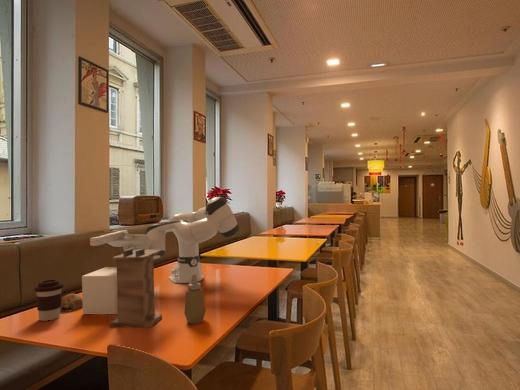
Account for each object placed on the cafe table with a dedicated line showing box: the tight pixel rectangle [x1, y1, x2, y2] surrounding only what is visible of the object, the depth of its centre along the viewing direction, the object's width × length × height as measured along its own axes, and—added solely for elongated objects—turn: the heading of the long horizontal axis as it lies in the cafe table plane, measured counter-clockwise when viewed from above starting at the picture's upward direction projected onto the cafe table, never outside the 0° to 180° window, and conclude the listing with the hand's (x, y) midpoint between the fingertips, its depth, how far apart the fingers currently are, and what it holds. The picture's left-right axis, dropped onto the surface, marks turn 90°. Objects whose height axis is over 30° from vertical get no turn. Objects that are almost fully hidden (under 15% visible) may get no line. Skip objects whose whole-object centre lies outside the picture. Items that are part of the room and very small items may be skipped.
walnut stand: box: [109, 249, 163, 328], centre depth 136 cm, size 18×16×28 cm
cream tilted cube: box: [81, 266, 118, 315], centre depth 152 cm, size 18×14×16 cm
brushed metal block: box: [89, 229, 129, 247], centre depth 153 cm, size 26×3×3 cm, turn 174°
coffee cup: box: [33, 279, 64, 322], centre depth 140 cm, size 10×10×15 cm
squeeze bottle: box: [183, 274, 207, 325], centre depth 132 cm, size 8×8×18 cm
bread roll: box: [60, 293, 83, 312], centre depth 153 cm, size 10×10×8 cm
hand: (120, 233), depth 162 cm, fingers closed on brushed metal block, 3 cm apart
